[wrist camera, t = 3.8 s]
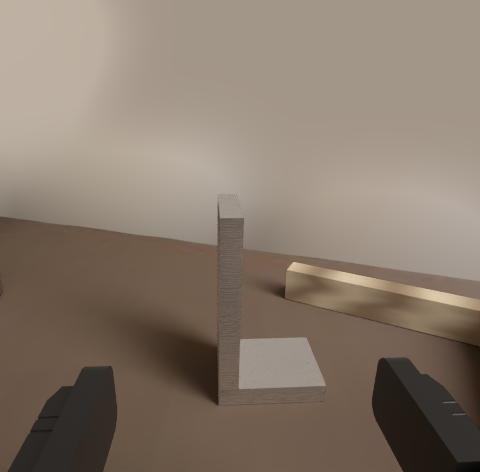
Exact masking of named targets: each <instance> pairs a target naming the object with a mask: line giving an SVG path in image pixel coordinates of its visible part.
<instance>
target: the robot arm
mask: <svg viewBox="0 0 480 472" xmlns="http://www.w3.org/2000/svg"><path fill="white" fill-rule="evenodd" d="M2 291H3V285H2V280H1V275H0V295H1V293H2ZM372 407H373V413H374V416H375V419H376V421H377V423H378V425H379V427H380V429H381V431H382V432H383V434H384V436H385V438H386V440H387V442H388V444H389V446H390V448H391V449H392V451H393V453H394V455H395V457H396V459H397V461H398V463H399V465H400V466H401V468H402V470H403V472H480V430H479V428H478V427H477V426H476V425H475V424H474V422H473V421H472V420H471V419H470V418H469V416H468V415H465V412H464V410H463V409H462V408H461V407H460V406H459V404H458V403H455V400H454V398H453V397H452V396H451V395H450V394H449V392H448V391H447V390H446V389H445V388H444V386H442V385H441V384H440V383H438V382H437V381H435V380H434V379H432V378H431V377H430V376H428V375H427V374H420V372H419V371H418V370H417V369H416V367H415V366H414V365H413V364H412V362H411V361H410V360H409V359H408V358H406V357H400V358H381V359H380V360H379V362H378V367H377V372H376V378H375V384H374V390H373V396H372ZM116 421H117V404H116V395H115V385H114V376H113V370H112V367H111V366H98V367H84V368H83V369H82V370H81V372H80V374H79V376H78V378H77V380H76V383H75V385H74V386H65V387H61V388H60V389H59V390H58V391H57V392H56V393H55V394H54V395H53V396H52V397H51V398H49V399H48V400H47V402H46V404H45V405H44V407H43V409H42V411H41V413H40V414H39V416H38V420H36V422H35V423H34V425H33V427H32V429H31V431H30V434H28V436H27V438H26V440H25V441H24V443H23V445H22V447H21V449H20V450H19V452H18V454H17V456H16V458H15V459H14V461H13V463H12V465H11V467H10V468H9V470H8V472H103V470H104V466H105V463H106V460H107V456H108V453H109V449H110V446H111V442H112V439H113V436H114V432H115V428H116Z"/></svg>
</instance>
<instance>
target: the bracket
mask: <svg viewBox="0 0 480 472" xmlns="http://www.w3.org/2000/svg"><path fill="white" fill-rule="evenodd" d="M243 225H244V218H243V214H242V211H241V208H240V204H239V201H238V197H237V195H218V245H217V368H218V399H219V406H221V405H245V404H269V403H294V402H318V401H324V399H325V391H326V384H325V382H324V379H323V377H322V375H321V372H320V370H319V367H318V365H317V362H316V360H315V358H314V355H313V353H312V350H311V348H310V345H309V343H308V341H307V338H269V339H240V328H241V294H242V260H243Z"/></svg>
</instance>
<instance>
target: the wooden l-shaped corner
mask: <svg viewBox="0 0 480 472" xmlns="http://www.w3.org/2000/svg"><path fill="white" fill-rule="evenodd" d="M285 299H289V300H293V301H297V302H301V303H305V304H309V305H313V306H317V307H321V308H325V309H330V310H334V311H338V312H342V313H346V314H350V315H354V316H358V317H362V318H366V319H370V320H374V321H378V322H382V323H386V324H391V325H395V326H399V327H403V328H407V329H411V330H415V331H419V332H423V333H427V334H431V335H435V336H439V337H443V338H447V339H452V340H456V341H460V342H464V343H468V344H472V345H476V346H480V300H478V299H473V298H468V297H463V296H458V295H453V294H448V293H443V292H438V291H433V290H429V289H424V288H419V287H414V286H409V285H404V284H399V283H394V282H389V281H384V280H379V279H374V278H369V277H365V276H360V275H355V274H350V273H345V272H340V271H335V270H330V269H325V268H320V267H315V266H310V265H305V264H300V263H296V262H293V263H292V265H291V266H290V267H289V268H288V269H287V276H286V289H285Z"/></svg>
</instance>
